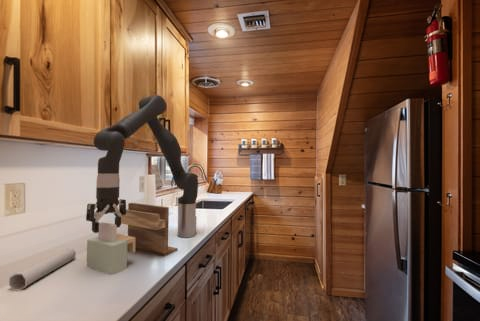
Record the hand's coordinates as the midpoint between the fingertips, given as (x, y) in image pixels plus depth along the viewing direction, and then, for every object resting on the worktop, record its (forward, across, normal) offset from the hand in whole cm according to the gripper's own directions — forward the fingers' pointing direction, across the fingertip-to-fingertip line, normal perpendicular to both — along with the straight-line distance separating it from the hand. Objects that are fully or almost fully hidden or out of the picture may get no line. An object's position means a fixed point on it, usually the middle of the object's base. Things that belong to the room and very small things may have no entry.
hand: (106, 229), depth 91 cm
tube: (+14, +12, -14) cm, 23 cm away
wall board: (+14, -19, 0) cm, 24 cm away
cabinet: (+14, -2, 0) cm, 14 cm away
